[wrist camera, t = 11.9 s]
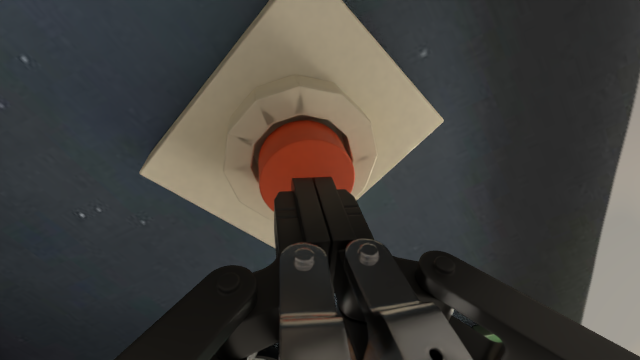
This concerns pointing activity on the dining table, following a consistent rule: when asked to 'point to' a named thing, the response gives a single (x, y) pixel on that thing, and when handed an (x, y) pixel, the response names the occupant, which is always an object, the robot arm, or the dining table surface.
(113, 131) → the dining table surface
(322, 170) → the button
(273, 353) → the supplement container
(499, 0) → the dining table surface
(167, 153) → the button base
